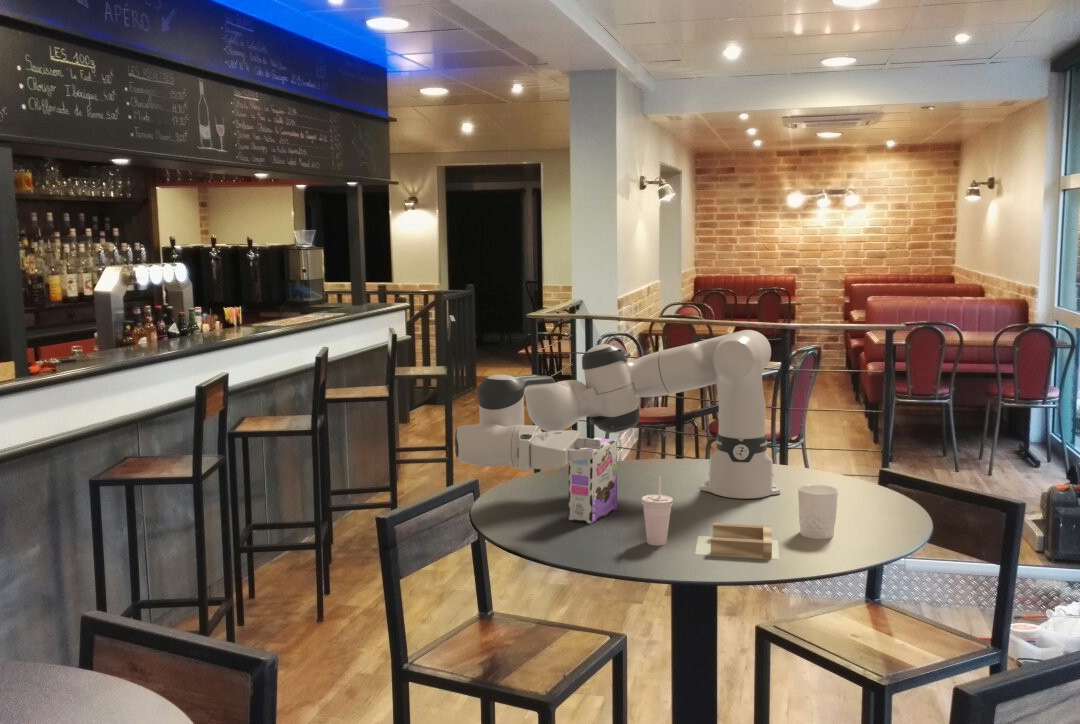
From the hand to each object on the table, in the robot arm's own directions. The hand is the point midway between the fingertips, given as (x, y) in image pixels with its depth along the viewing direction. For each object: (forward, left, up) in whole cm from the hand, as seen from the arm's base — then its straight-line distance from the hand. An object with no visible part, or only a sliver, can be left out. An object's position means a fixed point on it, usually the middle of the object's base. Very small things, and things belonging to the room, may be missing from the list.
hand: (596, 449), depth 202 cm
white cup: (-12, +44, -20) cm, 50 cm away
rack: (0, +28, -19) cm, 34 cm away
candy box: (-19, -4, -20) cm, 28 cm away
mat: (0, +28, -19) cm, 34 cm away
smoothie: (0, +12, -20) cm, 23 cm away
